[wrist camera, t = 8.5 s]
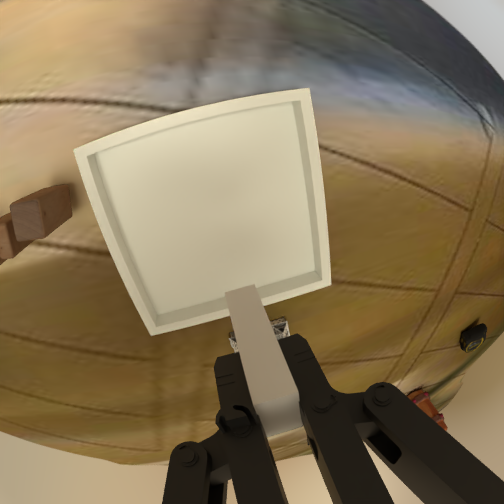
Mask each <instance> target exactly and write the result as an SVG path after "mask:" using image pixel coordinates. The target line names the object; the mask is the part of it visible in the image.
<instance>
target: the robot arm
mask: <svg viewBox="0 0 504 504" xmlns="http://www.w3.org/2000/svg"><path fill="white" fill-rule="evenodd" d="M225 296H226V300H227V305H228V309H229V313H230V317H231V321H232V325H233V329H234V333H235V337H236V341H237V345H238V349H239V352H236V353H232V354H229V355H225V356H221V357H217V359H216V363H215V366H214V372H215V378H216V384H217V390H218V395H219V401H220V407H221V409H220V410H219V412H218V413H217V415H216V424H217V426H218V427H219V430H218V431H217V432H216V433H215V434H214V435H212V436H211V437H209V438H207V439H205V440H203V441H201V442H199V443H197V442H192V441H189V442H183V443H181V444H179V445H177V446H176V447H175V448H174V449H173V451H172V453H171V456H170V461H169V467H168V472H167V478H166V484H165V489H164V495H163V502H162V504H226V499H227V484H228V480H230V479H232V481H233V486H234V490H235V494H236V499H237V503H238V504H288V501H287V498H286V495H285V492H284V489H283V485H282V482H281V479H280V476H279V473H278V470H277V467H276V464H275V461H274V457H273V454H272V451H271V448H270V446H269V443H268V440H267V437H270V436H273V435H277V434H280V433H283V432H287V431H290V430H293V429H296V428H299V427H302V426H303V425H304V428H305V430H306V433H307V441H308V445H310V447H311V449H312V452H313V454H314V457H315V459H316V462H317V464H318V467H319V469H320V472H321V474H322V477H323V479H324V482H325V484H326V487H327V489H328V492H329V494H330V497H331V499H332V502H333V504H394V502H393V500H392V498H391V496H390V494H389V492H388V490H387V488H386V486H385V484H384V482H383V480H382V478H381V476H380V474H379V472H378V470H377V468H376V466H375V464H374V462H373V460H372V458H371V456H370V455H369V453H368V451H367V449H366V447H365V445H364V443H363V441H364V442H365V443H366V444H367V445H368V446H369V447H370V448H371V449H372V451H374V453H375V454H376V455H377V456H378V457H379V458H380V459H381V460H382V461H383V462H384V463H385V464H386V465H387V466H388V467H389V468H390V469H391V470H392V471H393V473H394V474H395V475H396V476H397V477H398V478H399V479H400V480H401V481H402V482H403V483H404V484H405V485H406V486H407V487H408V488H409V489H410V490H411V491H412V492H413V493H414V494H415V495H416V496H417V497H418V498H419V499H420V500H421V501H422V502H423V503H424V504H504V482H503V481H502V480H501V479H500V478H499V477H498V476H497V475H495V474H494V473H493V472H492V471H491V470H490V469H489V468H488V467H486V466H485V465H484V464H483V463H481V461H480V460H478V459H477V458H476V457H475V456H474V455H473V454H472V453H470V452H469V451H468V450H467V449H466V448H465V447H464V446H462V445H461V444H460V443H459V442H458V441H457V440H455V439H454V438H453V437H452V436H451V435H450V434H449V433H447V432H446V431H445V430H444V429H443V428H442V427H441V426H440V425H438V424H437V423H436V422H435V421H434V420H433V419H432V418H431V417H429V416H428V415H427V414H426V413H425V412H424V411H423V410H421V409H420V408H419V407H418V406H417V405H416V404H415V403H414V402H412V401H411V400H410V399H409V398H408V397H407V396H406V395H405V394H403V393H402V392H401V391H400V390H399V389H398V388H397V387H395V386H394V385H392V384H390V383H386V382H380V383H376V384H374V385H372V386H370V387H369V388H368V389H367V390H366V392H361V393H352V394H345V393H340V392H338V391H336V390H334V389H333V388H332V387H331V386H330V384H329V383H328V381H327V379H326V377H325V375H324V373H323V371H322V369H321V367H320V365H319V363H318V361H317V360H316V358H315V356H314V354H313V352H312V350H311V348H310V346H309V344H308V342H307V340H306V339H304V338H303V337H302V336H300V335H299V334H298V333H297V334H294V335H291V336H288V337H285V338H282V339H279V340H277V338H276V336H275V333H274V331H273V329H272V326H271V324H270V321H269V319H268V316H267V314H266V311H265V309H264V306H263V304H262V301H261V299H260V297H259V294H258V292H257V289H256V287H255V284H252V285H249V286H245V287H242V288H238V289H234V290H231V291H227V292H225ZM362 440H363V441H362Z"/></svg>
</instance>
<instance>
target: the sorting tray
mask: <svg viewBox="0 0 504 504" xmlns="http://www.w3.org/2000/svg"><path fill="white" fill-rule="evenodd" d="M73 151H74V154H75V158H76V161H77V164H78V167H79V171H80V174H81V177H82V180H83V183H84V186H85V189H86V192H87V195H88V197H89V200H90V203H91V206H92V208H93V211H94V214H95V216H96V219H97V222H98V224H99V227H100V229H101V232H102V234H103V237H104V239H105V242H106V244H107V246H108V249H109V251H110V253H111V256H112V258H113V260H114V262H115V265H116V267H117V269H118V271H119V274H120V276H121V278H122V280H123V282H124V284H125V286H126V288H127V290H128V292H129V295H130V297H131V299H132V301H133V303H134V305H135V307H136V308H137V310H138V312H139V314H140V316H141V318H142V320H143V322H144V324H145V326H146V327H147V329H148V331H149V333H150V335H151V336H153V335H157V334H161V333H166V332H170V331H174V330H178V329H182V328H186V327H190V326H193V325H197V324H201V323H205V322H209V321H212V320H216V319H220V318H224V317H227V316H230V313H229V309H228V305H227V300H226V296H225V292H227V291H231V290H234V289H238V288H242V287H245V286H249V285H252V284H255V287H256V289H257V292H258V294H259V297H260V299H261V301H262V304H263V306H266V305H269V304H272V303H276V302H279V301H282V300H285V299H289V298H292V297H295V296H298V295H301V294H305V293H308V292H311V291H314V290H317V289H320V288H323V287H326V286H329V285H331V270H330V254H329V240H328V227H327V216H326V205H325V195H324V186H323V177H322V169H321V161H320V153H319V146H318V139H317V132H316V125H315V119H314V113H313V107H312V101H311V95H310V90H309V88H304V89H295V90H287V91H280V92H273V93H266V94H260V95H254V96H248V97H243V98H237V99H232V100H228V101H223V102H218V103H214V104H209V105H205V106H201V107H197V108H193V109H189V110H185V111H181V112H178V113H174V114H171V115H167V116H164V117H160V118H157V119H154V120H150V121H147V122H144V123H141V124H138V125H135V126H132V127H129V128H126V129H124V130H121V131H118V132H115V133H113V134H110V135H107V136H105V137H102V138H100V139H97V140H95V141H92V142H90V143H87V144H85V145H83V146H80V147H78V148H76V149H73Z"/></svg>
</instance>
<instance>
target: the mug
mask: <svg viewBox="0 0 504 504" xmlns="http://www.w3.org/2000/svg"><path fill="white" fill-rule="evenodd" d="M407 397H408V398H409V399H410V400H411V401H412V402H414V403H415V404H416V405H417V406H418V407H419V408H420V409H421V410H423V411H424V412H425V413H426V414H427V415H428V416H429V417H431V418H432V419H433V420H434V421H435V422H436V423H437V424H438V425H440V426H441V427H442V428H443V429H444V430H445V431H446V430H447V426H446V424H445V423H444V417H443V414H442V413H441V414H439V413H438V411H437V410H436V408H435V407H434V406H433V404H432V403H431V402H430V397H429V396H428V392H425V393H424V392H423V391H422V390H418V391H415V392H412V393H411V394H410V395H408V396H407Z"/></svg>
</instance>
